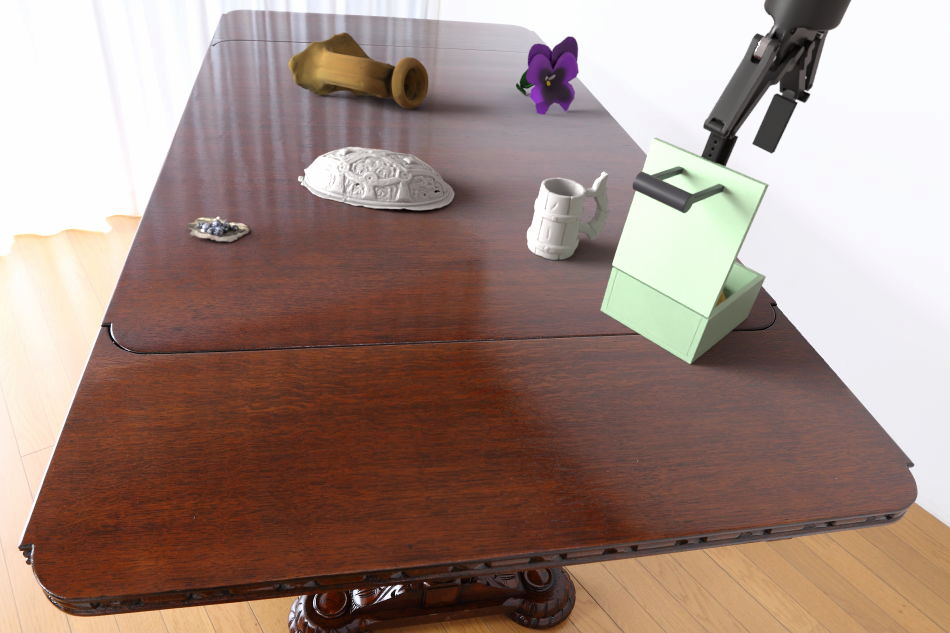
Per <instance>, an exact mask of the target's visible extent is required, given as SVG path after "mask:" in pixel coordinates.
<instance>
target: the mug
mask: <svg viewBox="0 0 950 633" xmlns="http://www.w3.org/2000/svg"><path fill="white" fill-rule="evenodd" d="M608 178H609V173H608V172H607V171H602V172H601V173H600V177H598V178H596V179H595V181H594V183H593V184H592V187H584V185H582V184H581V183H580V182H578V181H576V180H572V179H569V178H565V177H549V178H546V179H544V180H543V181H542V182H541V185H540V188H539V192H538V196H537V197H536V199H535V201H534V213H533V216H532V217H533V218H532V222H531V225H530V226H529V227H528V229H527V232H526V240H527V247H528V250H530V251H531V252H532V253H533V254H535V255H536V256H539V257H542V258H545V259H547V260H553V261H558V260H559V261H561V260H567V259H569V258H570V257H572V256H573V255H574V254H575V250H576V249H577V248H578V246H579V241H580V239H579V238H580V237H579V233H583V234H585V235H586V236H587V237H588V239H589V240H591V241H594V240H595V239H596V237H597V235H599V234H600V233H601V232H602V230H603V229H604V227H605V225H606V221H607V219H608V217H609V215H610V208H609V207H610V206H609V199H608ZM586 198H593V199H594V201H595V204H596V208H595V213H594V215H593V216H592V217H591V218H590V220H589V221H588V222H586V221H584V220H582V219H583V217H584V213H585V207H584V205H585V200H586Z"/></svg>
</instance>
